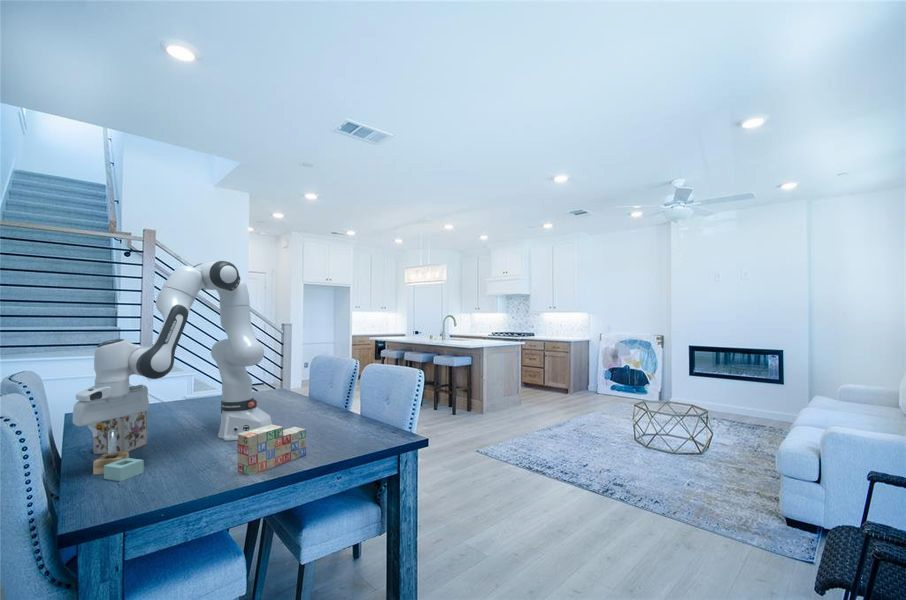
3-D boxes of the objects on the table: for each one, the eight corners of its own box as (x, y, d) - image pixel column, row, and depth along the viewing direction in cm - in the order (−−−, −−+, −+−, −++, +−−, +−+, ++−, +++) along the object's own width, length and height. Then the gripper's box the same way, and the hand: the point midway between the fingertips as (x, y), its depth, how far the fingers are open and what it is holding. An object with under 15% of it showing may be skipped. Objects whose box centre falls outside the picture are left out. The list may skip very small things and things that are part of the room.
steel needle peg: (118, 467, 140) (118, 427, 140) (113, 470, 138) (113, 429, 138) (111, 467, 140) (111, 427, 140) (105, 470, 138) (106, 429, 138)
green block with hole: (143, 472, 135) (143, 459, 135) (120, 481, 129) (120, 468, 129) (127, 470, 137) (127, 457, 138) (103, 478, 131) (103, 465, 131)
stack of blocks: (295, 452, 154) (295, 418, 154) (306, 455, 150) (306, 420, 150) (237, 471, 136) (237, 433, 136) (248, 476, 132) (248, 436, 133)
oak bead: (128, 463, 143) (128, 451, 143) (119, 471, 136) (119, 459, 136) (103, 466, 141) (103, 454, 141) (93, 474, 134) (93, 461, 134)
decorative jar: (119, 443, 164) (119, 396, 165) (148, 444, 164) (148, 397, 164) (91, 454, 152) (91, 404, 153) (122, 455, 152) (122, 404, 152)
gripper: (142, 382, 150) (143, 422, 150) (69, 395, 132) (70, 440, 132) (152, 384, 147) (153, 424, 147) (79, 397, 129) (80, 443, 129)
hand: (114, 431), depth 139 cm, fingers open, 8 cm apart
